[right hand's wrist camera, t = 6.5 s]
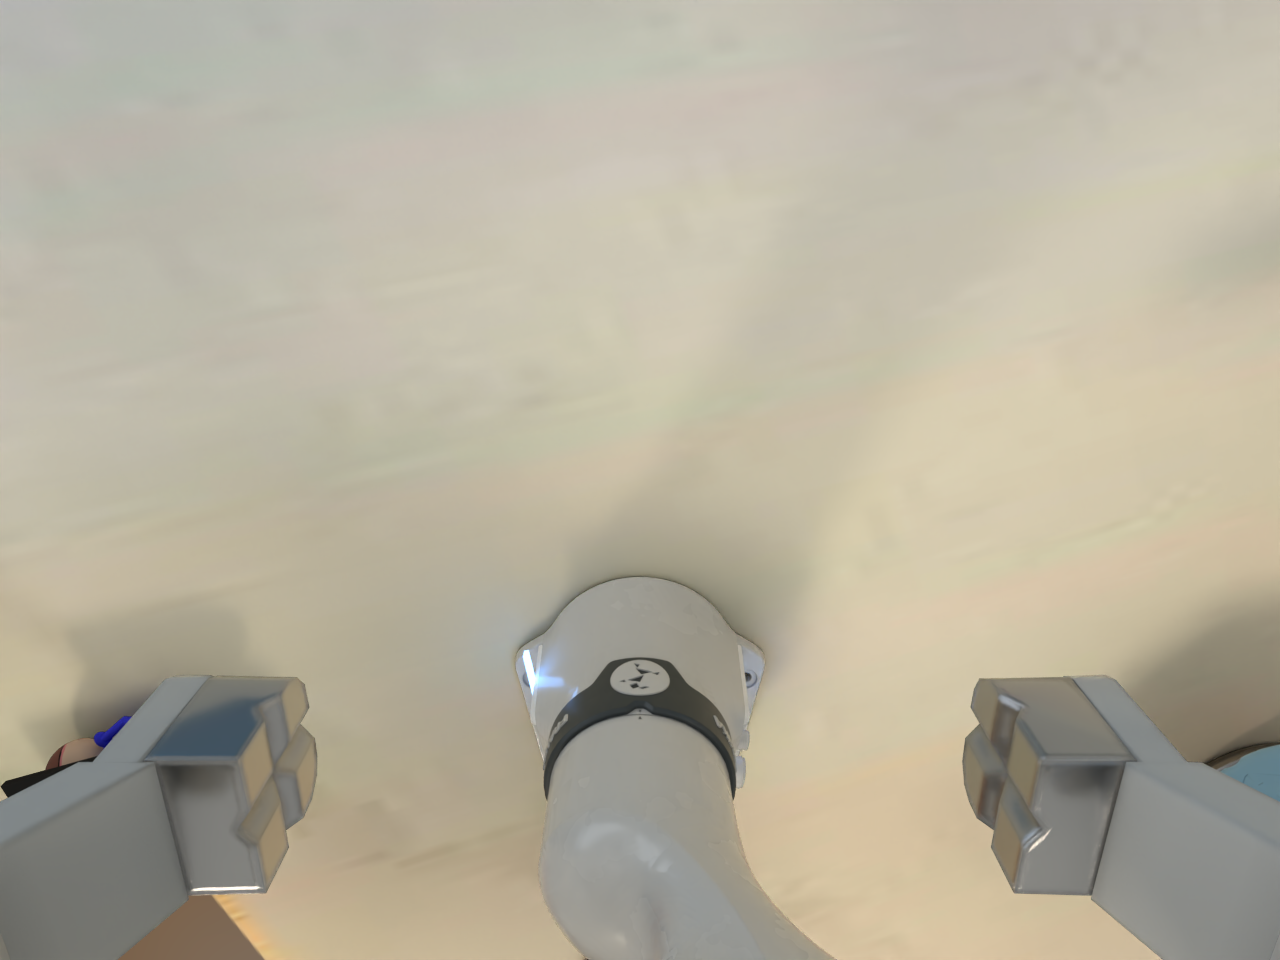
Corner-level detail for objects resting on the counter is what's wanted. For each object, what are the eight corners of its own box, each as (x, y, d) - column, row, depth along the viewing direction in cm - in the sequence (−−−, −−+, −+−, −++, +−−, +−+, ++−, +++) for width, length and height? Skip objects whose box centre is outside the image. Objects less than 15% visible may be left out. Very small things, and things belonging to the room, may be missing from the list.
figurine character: (227, 668, 68) (46, 728, 68) (192, 726, 61) (-11, 793, 61) (266, 735, 71) (90, 792, 71) (235, 798, 64) (40, 863, 64)
